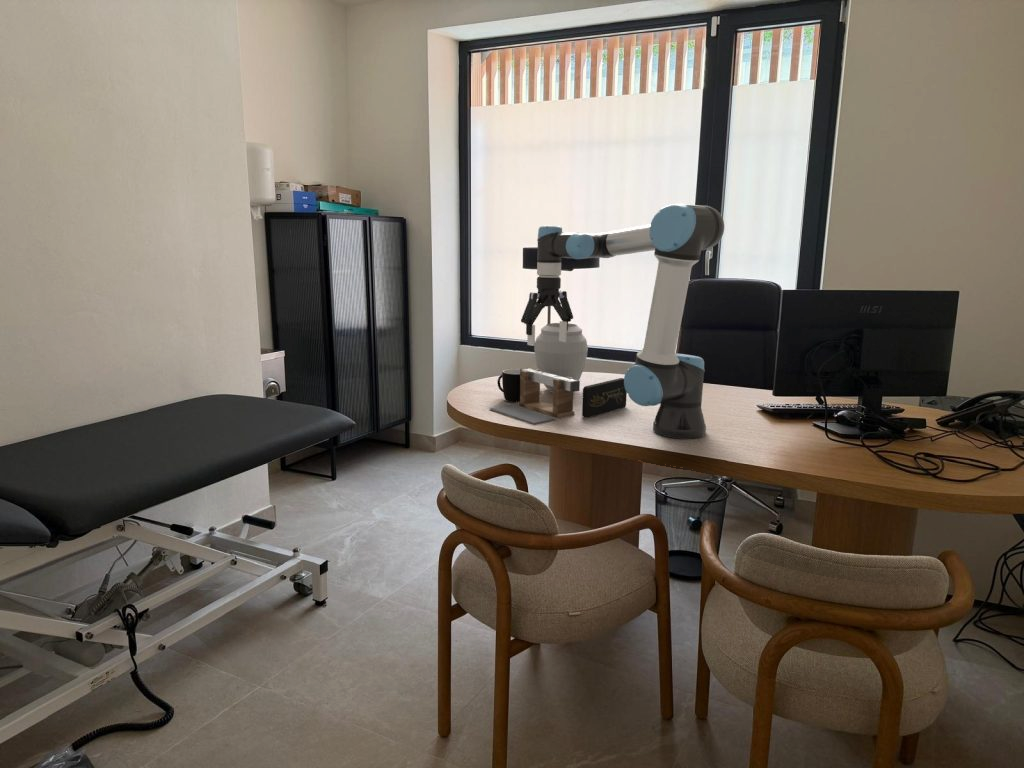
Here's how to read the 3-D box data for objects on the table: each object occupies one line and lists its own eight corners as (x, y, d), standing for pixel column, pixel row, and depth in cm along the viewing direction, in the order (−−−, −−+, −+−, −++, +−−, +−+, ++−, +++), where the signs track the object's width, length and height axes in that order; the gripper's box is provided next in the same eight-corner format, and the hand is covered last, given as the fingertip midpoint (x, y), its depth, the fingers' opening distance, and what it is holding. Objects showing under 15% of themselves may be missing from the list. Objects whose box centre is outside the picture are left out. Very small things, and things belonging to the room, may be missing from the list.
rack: (574, 415, 221) (575, 378, 218) (559, 418, 217) (560, 380, 214) (533, 402, 236) (534, 368, 233) (518, 405, 232) (519, 370, 229)
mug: (532, 400, 240) (533, 371, 238) (516, 404, 233) (517, 375, 231) (505, 394, 247) (506, 366, 245) (489, 398, 240) (490, 370, 238)
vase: (554, 382, 268) (556, 320, 262) (596, 390, 255) (599, 325, 250) (522, 391, 253) (523, 324, 248) (565, 399, 241) (567, 330, 236)
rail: (579, 390, 215) (579, 380, 214) (571, 392, 213) (572, 382, 212) (527, 377, 234) (527, 367, 234) (519, 378, 232) (520, 368, 232)
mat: (556, 420, 215) (556, 418, 215) (534, 424, 209) (534, 422, 209) (511, 406, 231) (511, 404, 231) (490, 410, 226) (490, 408, 226)
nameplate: (621, 406, 233) (622, 377, 231) (625, 407, 232) (627, 378, 230) (581, 417, 219) (582, 386, 216) (586, 418, 217) (587, 387, 215)
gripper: (569, 274, 228) (567, 338, 232) (510, 276, 212) (509, 345, 217) (585, 275, 222) (583, 341, 227) (526, 278, 207) (524, 348, 211)
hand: (547, 343), depth 222 cm, fingers open, 13 cm apart
